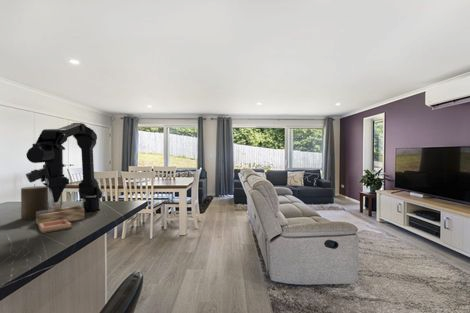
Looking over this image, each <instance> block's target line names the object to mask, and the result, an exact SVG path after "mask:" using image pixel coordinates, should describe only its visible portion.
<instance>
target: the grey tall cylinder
mask: <svg viewBox="0 0 470 313" xmlns="http://www.w3.org/2000/svg"><path fill="white" fill-rule="evenodd" d="M58 209H61V196H60V198H59V200H58V202H54V200H53V196H52V191H51V189H50V188H49V187H48V210H58Z"/></svg>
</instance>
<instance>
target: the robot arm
mask: <svg viewBox="0 0 470 313" xmlns="http://www.w3.org/2000/svg"><path fill="white" fill-rule="evenodd" d="M70 137H73V138H74V139H75V140H76V144H77V146H78V147H79V148H80V150H81V166H82V179H81V181H80V182H79V183H78V194H79V200H83V201H82V203H81V204H82V206H81V207H82V208H84V213H90V212H95V211H101V208H100V199H102V197H103V191H102V190H101V188H100V187H99V182H98V181H97V179H96V178H95V170H94V169H95V167H94V166H95V165H94V149H95V146H96V145H97V139H98V135H97V133H96V131H95V130H93V129H92V128H90V127H88V126H87V125H86V124H85V123H84V122H83V123H82V122H72V123H70V124H68V125H66V126H63V127H59V128H46V129H45V128H44V129H42V130H41V133H40V134H39V136H38V138H37V140H36V141H35V143H32V147H30V148H29V149H28V150H27V151H26V159H27V160H28V161H29V162H30V163H32V164H39V163H44V164H42V167H41V168H39V169H36V168H35V169H33V170H31V171H30V172H27V173H25V176H26V179H27V180H28V182H29V183H34V182H36V181H38V180H40V182H41V183H42V184H43V186H47V187H49V188H50V189H51V191H52V196H53V200H54V202H58V200H59V198H60V196H61V194H62V195H63V192H64V189H65V188H66V186H67V185H70V178H68V177H67V176H65V174H64V167H65V164H64V163H63V161H64V160H63V159H64V158H63V157H64V156H63V155H64V153H63V151H65V150H66V148H65V146H64V143H66V142H67V141H68V138H70Z"/></svg>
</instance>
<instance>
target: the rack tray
mask: <svg viewBox="0 0 470 313" xmlns="http://www.w3.org/2000/svg"><path fill="white" fill-rule="evenodd" d="M68 229H72V223H71V221H68V220H66V219H63V220H57V221H51V222H45V223H39V225H38V230H39V231H40V232H41V233H42V234H46V233H52V232H58V231H62V230H63V231H64V230H68Z"/></svg>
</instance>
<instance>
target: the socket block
mask: <svg viewBox="0 0 470 313" xmlns="http://www.w3.org/2000/svg"><path fill="white" fill-rule="evenodd" d="M63 219H66V220H68V221H69V222H73V221H79V220H85V211H84V208H82V206H80V205H78V206H77V205H76V206H69V207H62V208H61V209H58V210H55V213H48V214H41V215H39V218H38V219H37V218H36V219H35V222H36V224H37V225H38V226H39V223H45V222H51V221H57V220H63Z"/></svg>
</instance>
